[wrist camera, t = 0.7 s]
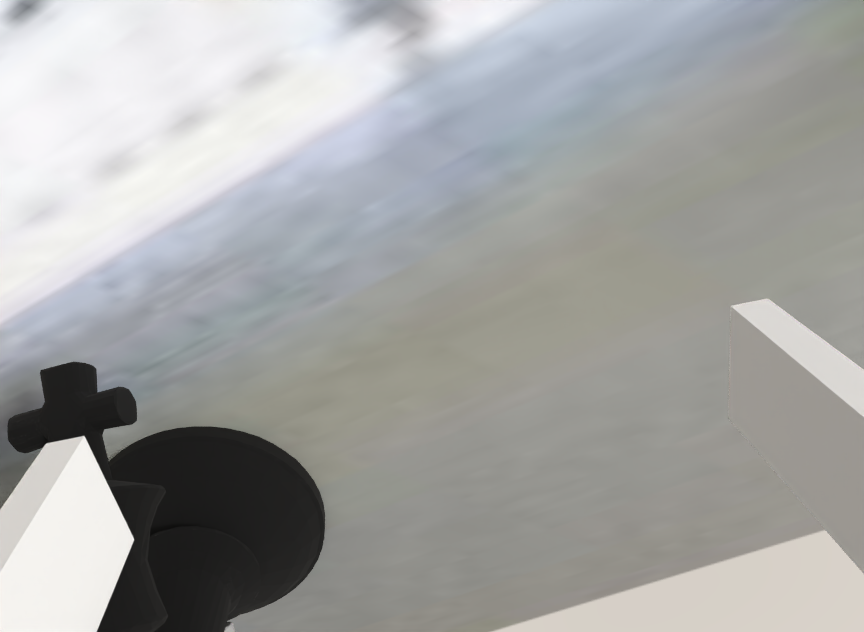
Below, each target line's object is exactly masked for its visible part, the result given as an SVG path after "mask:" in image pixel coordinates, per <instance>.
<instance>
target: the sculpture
mask: <svg viewBox="0 0 864 632" xmlns="http://www.w3.org/2000/svg"><path fill="white" fill-rule="evenodd" d="M40 375H41V381H42V387H43V393H44V398H45V403H44V405H43V408H40V409H36V410H33V411H29V412H25V413H22V414H18V415H15V416H13V417H12V418H10V419H9V422H8V431H7V432H8V441H9V442H10V443H11V445H12V446H13V447H14V448H15V449H16V450H17V451H19V452H22V453H28V452H32V451H34V450H37V449H40V448H42V447H44V446H45V444H46V443H51V442H56V441H61V440H66V439H71V438H76V437H81V436H85V438H86V440H87V442H88V445H89V447H90V449H91V451H92V453H93V455H94V457H95V459H96V461H97V463H98V465H99V467H100V469H101V471H102V474H103V476H104V478H105V480H106V482H107V484H108V486H109V488H110V490H111V492H112V494H113V496H114V498H115V500H116V503H117V505H118V507H119V509H120V511H121V513H122V515H123V517H124V519H125V521H126V523H127V525H128V527H129V529H130V532H131V534H132V536H133V538H134V541H133V544H132V546H131V549H130V551H129V554H128V556H127V559H126V561H125V564H124V566H123V568H122V571H121V573H120V576H119V578H118V581H117V583H116V586H115V588H114V590H113V593H112V595H111V598H110V600H109V603H108V605H107V608H106V610H105V612H104V615H103V617H102V620H101V622H100V625H99V627H98V630H97V632H235V630H234V625H233V623H232V622H227V621H228V620H230V619H232V618H235V617H237V616H238V615H240V614H244V613H247V612H250V611H253V610H255V609H258V608H261V607H264V606H266V605H268V604H271V603H273V602H275V601H277V600H278V599H280V598H282V597H283V596H285V595H287V594H288V593H289V592H291V591H292V590H293V589H295V588H296V587H297V586H298V585H299V584H300V583H301V582H302V581H303V580H304V579H305V578H306V577H307V575H308V574H309V573H310V572H311V570H312V569H313V567H314V565H315V563H316V562H317V560H318V558H319V555H320V552H321V550H322V546H323V540H324V531H325V512H324V505H323V501H322V498H321V495H320V492H319V490H318V488H317V486H316V484H315V482H314V480H313V479H312V478H311V476H310V475H309V474H308V472H307V471H306V470H305V469H304V468H303V467H302V465H301V464H300V463H299V462H298V461H297V460H296V459H295V458H293V457H292V456H291V455H289V454H288V453H287V452H285V451H284V450H282V449H280V448H279V447H277V446H276V445H274V444H272V443H270V442H268V441H266V440H264V439H262V438H260V437H258V436H254V435H251V434H248V433H245V432H241V431H236V430H232V429H227V428H218V427H186V428H177V429H172V430H168V431H163V432H160V433H157V434H154V435H151V436H148V437H146V438H144V439H141V440H139V441H137V442H135V443H133V444H132V445H130V446H128V447H127V448H125V449H124V450H122V451H121V452H120V453H118V454H117V455H116V456H115V457H114V458H113V459H112V460H110V461H109V463H108V458H107V454H106V450H105V446H104V441H103V437H102V434H103V431H104V429H108V428H114V427H119V426H125V425H131V424H133V423H134V422H136V421H137V408H136V401H135V399H134V397H133V396H132V394H131V392H130V391H129V389H126V388H124V387H117V388H113V389H109V390H106V391H102V392H98V393H97V374H96V368H95V367H94V366H92V365H89V364H86V363H80V362H71V363H67V364H63V365H59V366H55V367H51V368H48V369H44V370H41V372H40Z"/></svg>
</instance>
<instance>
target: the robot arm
mask: <svg viewBox="0 0 864 632" xmlns="http://www.w3.org/2000/svg"><path fill="white" fill-rule="evenodd" d="M728 419H729V420H730V421H731V422H732V424H733V425H734V426H735V427H736V428H737V429H738V430H739V432H740V433H741V434H742V435H743V436H744V437H745V438H746V440H747V441H748V442H749V443H750V444H751V445H752V446H753V448H754V449H755V450H756V451H757V452H758V453H759V454H760V456H761V457H762V458H763V459H764V460H765V461H766V462H767V464H768V465H769V466H770V467H771V468H772V469H773V470H774V472H775V473H776V474H777V475H778V476H779V477H780V478H781V480H782V481H783V482H784V483H785V484H786V485H787V486H788V488H789V489H790V490H791V491H792V492H793V493H794V494H795V496H796V497H797V498H798V499H799V500H800V501H801V503H802V504H803V505H804V506H805V507H806V508H807V509H808V511H809V512H810V513H811V514H812V515H813V516H814V517H815V519H816V520H817V521H818V522H819V523H820V524H821V525H822V527H823V528H824V529H825V530H826V531H827V532H828V533H829V535H830V536H831V537H832V538H833V539H834V540H835V541H836V543H837V544H838V545H839V546H840V547H841V548H842V549H843V551H844V552H845V553H846V554H847V555H848V556H849V557H850V559H851V560H852V561H853V562H854V563H855V564H856V565H857V567H858V568H859V569H860V570H861V571H862V572H863V573H864V370H863V369H862V368H861V367H859V366H858V365H857V364H855V363H854V362H853V361H851V360H850V359H849V358H847V357H846V356H845V355H843V354H842V353H840V352H839V351H838V350H836V349H835V348H834V347H832V346H831V345H830V344H828V343H827V342H826V341H824V340H823V339H822V338H820V337H819V336H818V335H816V334H815V333H814V332H812V331H811V330H809V329H808V328H807V327H805V326H804V325H803V324H801V323H800V322H799V321H797V320H796V319H795V318H793V317H792V316H791V315H789V314H788V313H787V312H785V311H784V310H782V309H781V308H780V307H778V306H777V305H776V304H774V303H773V302H772V301H770V300H769V299H763V300H758V301H753V302H748V303H743V304H738V305H733V306H731V311H730V357H729V403H728ZM133 541H134V538H133V536H132V534H131V532H130V529H129V527H128V525H127V523H126V521H125V519H124V517H123V515H122V513H121V511H120V509H119V507H118V505H117V503H116V500H115V498H114V496H113V494H112V492H111V490H110V488H109V486H108V484H107V482H106V480H105V478H104V476H103V474H102V471H101V469H100V467H99V465H98V463H97V461H96V459H95V457H94V455H93V453H92V451H91V449H90V447H89V445H88V442H87V440H86V438H85V436H81V437H76V438H71V439H66V440H61V441H56V442H51V443H46V444H45V446H44V447H43V449H42V450H41V452H40V453H39V454H38V456H37V457H36V459H35V460H34V462H33V463H32V465H31V466H30V467H29V469H28V470H27V472H26V473H25V475H24V476H23V478H22V479H21V480H20V482H19V483H18V485H17V486H16V488H15V489H14V491H13V492H12V493H11V495H10V496H9V498H8V499H7V501H6V502H5V504H4V505H3V506H2V508H1V509H0V632H97V630H98V627H99V625H100V622H101V620H102V617H103V615H104V612H105V610H106V608H107V605H108V603H109V600H110V598H111V595H112V593H113V590H114V588H115V586H116V583H117V581H118V578H119V576H120V573H121V571H122V568H123V566H124V564H125V561H126V559H127V556H128V554H129V551H130V549H131V546H132V544H133Z"/></svg>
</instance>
